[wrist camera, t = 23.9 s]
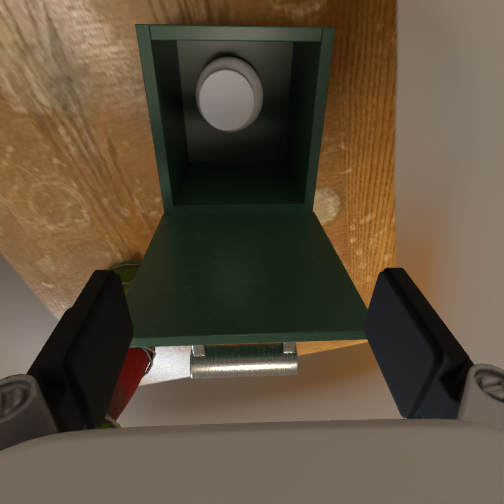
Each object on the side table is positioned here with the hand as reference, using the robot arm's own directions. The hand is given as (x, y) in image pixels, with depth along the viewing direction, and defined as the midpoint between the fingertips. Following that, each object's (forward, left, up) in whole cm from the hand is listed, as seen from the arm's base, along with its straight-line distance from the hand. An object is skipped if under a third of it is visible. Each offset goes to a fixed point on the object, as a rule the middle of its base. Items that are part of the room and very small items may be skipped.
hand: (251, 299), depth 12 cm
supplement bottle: (0, -4, -26) cm, 26 cm away
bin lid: (0, +3, -8) cm, 8 cm away
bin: (0, -2, -27) cm, 27 cm away
